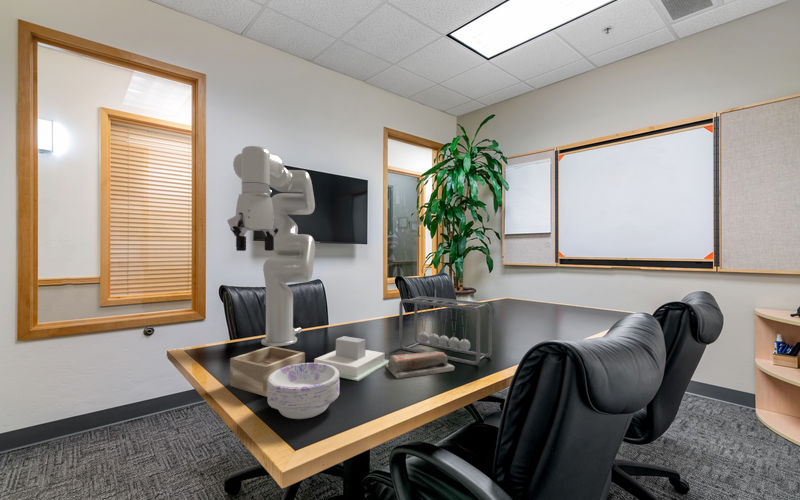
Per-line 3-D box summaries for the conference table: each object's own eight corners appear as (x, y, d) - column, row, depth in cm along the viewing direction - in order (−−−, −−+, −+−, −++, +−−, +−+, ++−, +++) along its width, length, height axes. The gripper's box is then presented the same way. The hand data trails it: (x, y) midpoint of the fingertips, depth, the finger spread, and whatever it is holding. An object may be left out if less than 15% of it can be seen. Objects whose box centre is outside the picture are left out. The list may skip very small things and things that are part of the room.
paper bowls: (276, 434, 67) (276, 393, 67) (260, 404, 80) (260, 369, 80) (350, 415, 75) (350, 377, 75) (325, 390, 88) (325, 358, 88)
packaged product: (397, 362, 96) (385, 352, 105) (397, 380, 96) (385, 368, 105) (455, 355, 102) (439, 346, 112) (455, 372, 102) (438, 361, 112)
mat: (344, 353, 118) (344, 352, 118) (391, 361, 110) (391, 360, 110) (306, 369, 102) (306, 368, 102) (357, 381, 94) (357, 379, 94)
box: (270, 370, 102) (270, 346, 101) (304, 378, 95) (304, 352, 95) (230, 386, 90) (230, 358, 90) (266, 396, 84) (266, 367, 84)
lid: (345, 353, 116) (345, 331, 116) (384, 361, 109) (384, 336, 109) (314, 367, 103) (314, 341, 103) (356, 376, 96) (357, 349, 96)
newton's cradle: (398, 349, 124) (398, 298, 124) (415, 342, 132) (415, 295, 132) (478, 367, 106) (479, 307, 106) (492, 358, 114) (492, 303, 114)
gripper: (270, 195, 111) (270, 250, 111) (219, 187, 96) (219, 250, 96) (288, 194, 108) (287, 250, 108) (238, 185, 92) (238, 251, 93)
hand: (255, 250), depth 102 cm, fingers open, 9 cm apart
